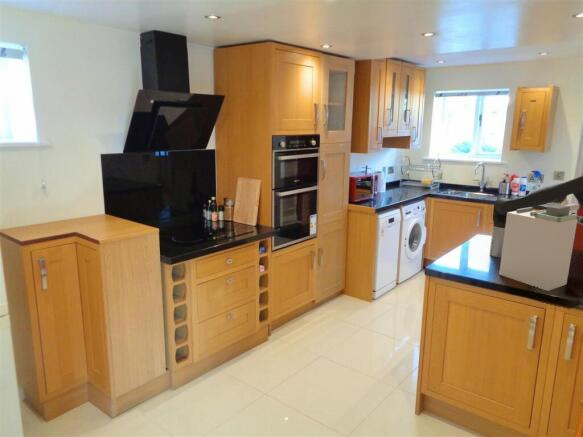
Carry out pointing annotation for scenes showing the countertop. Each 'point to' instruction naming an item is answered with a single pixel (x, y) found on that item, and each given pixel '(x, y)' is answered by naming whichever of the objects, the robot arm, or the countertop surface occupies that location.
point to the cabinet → (537, 248)
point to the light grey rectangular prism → (561, 209)
